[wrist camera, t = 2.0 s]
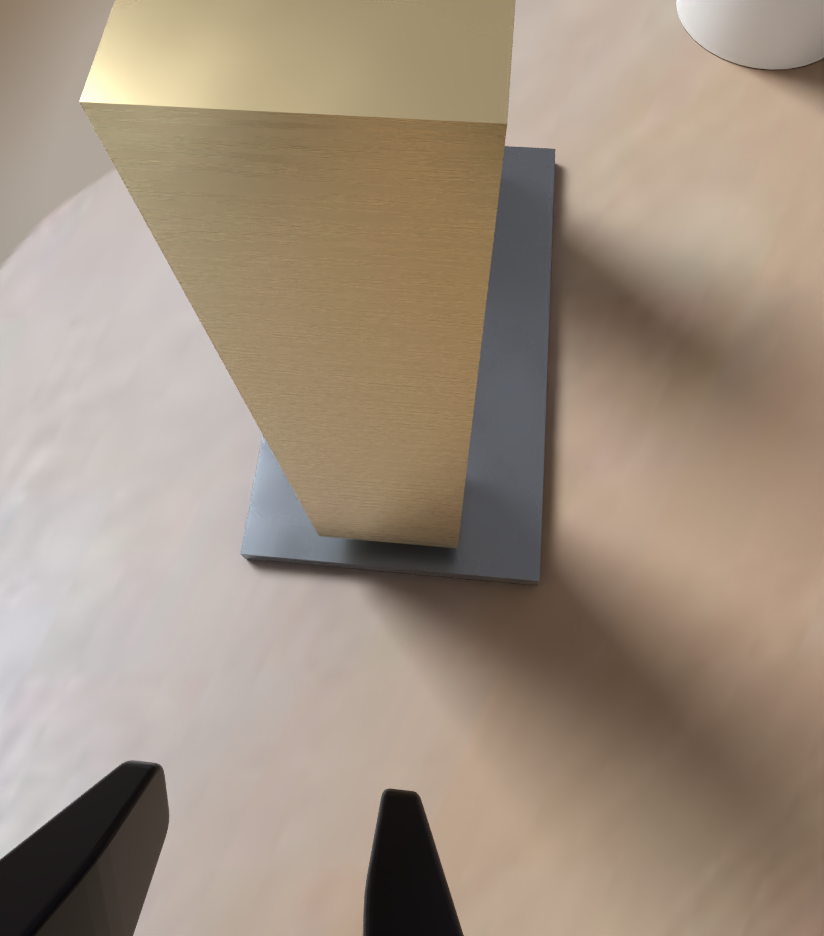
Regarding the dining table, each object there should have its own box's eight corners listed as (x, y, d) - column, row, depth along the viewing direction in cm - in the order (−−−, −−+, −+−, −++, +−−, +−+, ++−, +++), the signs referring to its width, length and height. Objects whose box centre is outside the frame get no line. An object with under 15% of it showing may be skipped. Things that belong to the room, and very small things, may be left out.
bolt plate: (536, 585, 22) (791, 188, 6) (245, 558, 22) (-184, 134, 7) (552, 160, 28) (704, -586, 12) (321, 148, 28) (183, -581, 13)
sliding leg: (456, 554, 21) (507, 123, 6) (322, 542, 21) (79, 102, 7) (464, 459, 22) (521, -93, 8) (336, 449, 22) (152, -106, 8)
